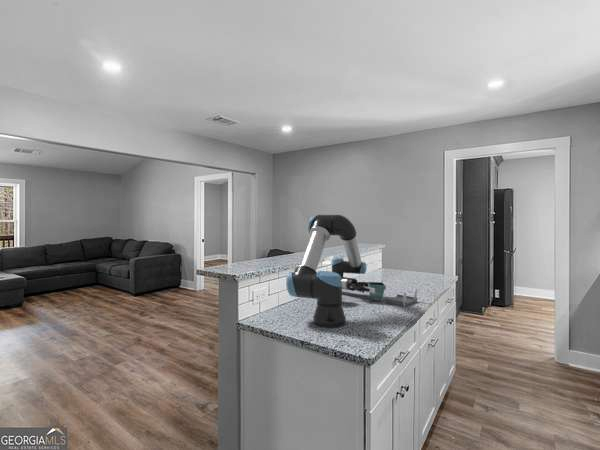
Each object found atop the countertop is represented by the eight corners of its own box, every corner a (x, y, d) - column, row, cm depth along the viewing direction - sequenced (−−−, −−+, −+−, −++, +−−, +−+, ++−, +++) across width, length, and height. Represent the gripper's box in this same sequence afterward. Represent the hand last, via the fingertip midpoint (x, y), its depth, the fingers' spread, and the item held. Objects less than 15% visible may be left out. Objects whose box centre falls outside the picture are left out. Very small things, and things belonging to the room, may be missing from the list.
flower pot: (382, 297, 195) (382, 282, 195) (384, 300, 186) (384, 285, 186) (367, 296, 196) (367, 281, 196) (369, 300, 187) (369, 284, 187)
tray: (405, 306, 177) (405, 293, 177) (385, 302, 185) (385, 289, 185) (417, 301, 187) (417, 288, 187) (398, 298, 196) (398, 285, 196)
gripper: (360, 287, 213) (390, 292, 198) (338, 292, 196) (369, 299, 181) (360, 275, 213) (390, 280, 197) (338, 280, 196) (369, 285, 181)
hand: (380, 289), depth 189 cm, fingers closed on flower pot, 11 cm apart
